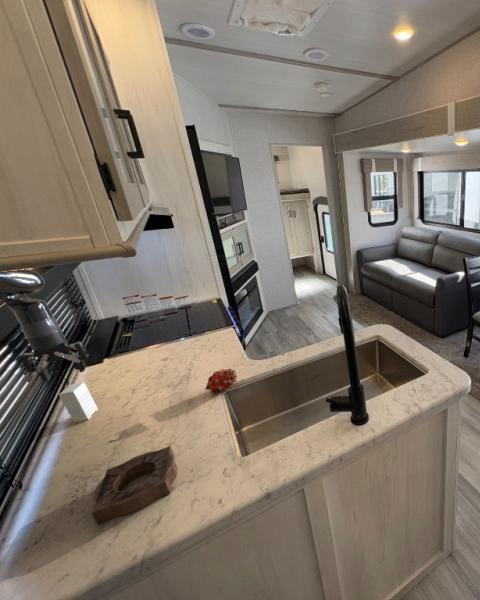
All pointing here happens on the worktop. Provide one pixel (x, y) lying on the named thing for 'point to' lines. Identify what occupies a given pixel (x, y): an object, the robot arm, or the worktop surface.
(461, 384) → the worktop surface
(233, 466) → the worktop surface
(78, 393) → the cosmetic box
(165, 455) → the hole block
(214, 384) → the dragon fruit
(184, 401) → the worktop surface
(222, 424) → the worktop surface
